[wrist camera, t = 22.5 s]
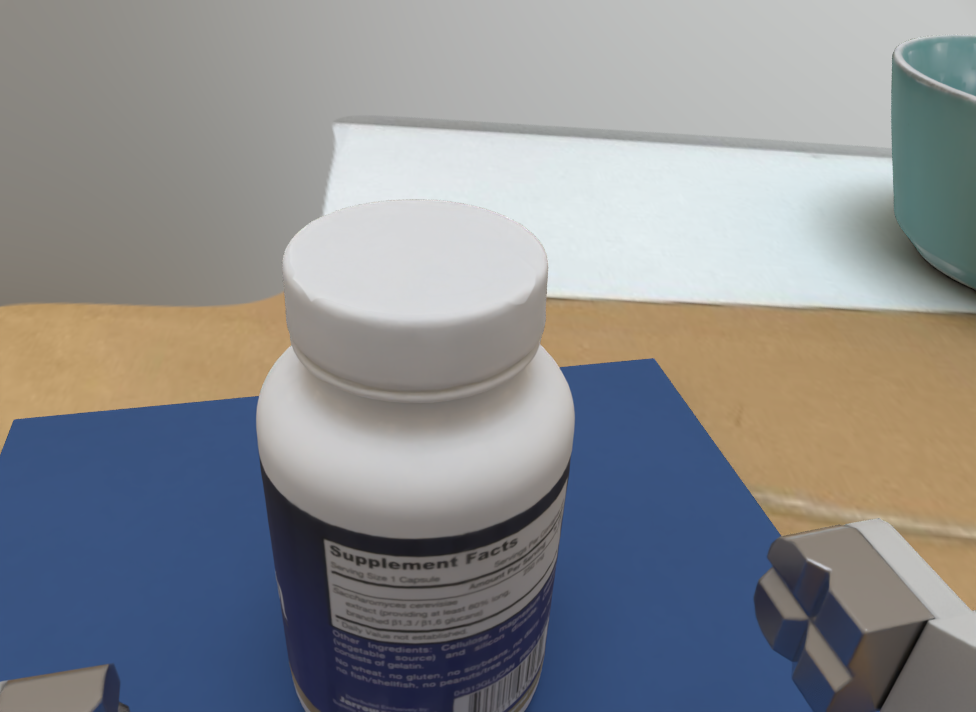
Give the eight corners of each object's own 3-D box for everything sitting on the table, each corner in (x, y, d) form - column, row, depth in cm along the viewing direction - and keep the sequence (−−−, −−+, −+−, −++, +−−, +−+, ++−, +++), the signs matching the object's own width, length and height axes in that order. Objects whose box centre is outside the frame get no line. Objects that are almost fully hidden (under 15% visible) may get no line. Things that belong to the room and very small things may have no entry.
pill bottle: (309, 560, 20) (269, 175, 14) (530, 561, 20) (573, 184, 15) (268, 781, 15) (186, 341, 10) (554, 777, 16) (628, 350, 10)
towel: (-467, 1736, 8) (-500, 1742, 8) (18, 432, 24) (13, 418, 24) (1177, 1121, 12) (1195, 1111, 12) (651, 369, 28) (654, 357, 28)
